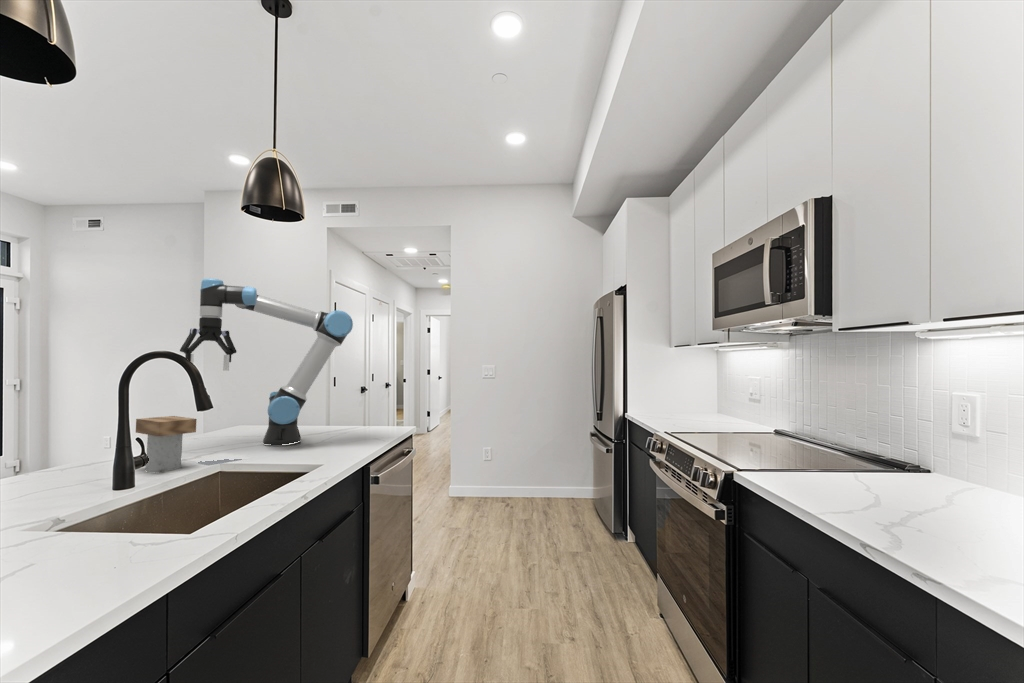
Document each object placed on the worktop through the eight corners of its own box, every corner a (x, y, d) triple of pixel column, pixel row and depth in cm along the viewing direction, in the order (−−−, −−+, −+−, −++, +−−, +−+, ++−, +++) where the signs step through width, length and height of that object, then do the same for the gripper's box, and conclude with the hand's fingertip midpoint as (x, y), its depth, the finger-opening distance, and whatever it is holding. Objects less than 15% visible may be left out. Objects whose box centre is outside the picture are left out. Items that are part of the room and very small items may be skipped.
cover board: (172, 428, 162) (173, 415, 163) (195, 432, 155) (196, 418, 155) (135, 432, 153) (136, 418, 153) (158, 436, 146) (159, 422, 146)
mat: (223, 452, 182) (223, 451, 182) (253, 458, 172) (253, 457, 172) (178, 459, 168) (178, 458, 168) (208, 466, 158) (208, 465, 158)
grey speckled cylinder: (166, 473, 148) (168, 434, 149) (137, 472, 149) (139, 434, 149) (187, 466, 158) (189, 430, 159) (160, 465, 158) (162, 430, 159)
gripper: (236, 320, 196) (234, 370, 195) (170, 314, 174) (168, 370, 173) (247, 320, 193) (245, 370, 192) (181, 314, 171) (179, 371, 170)
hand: (208, 370), depth 182 cm, fingers open, 13 cm apart
